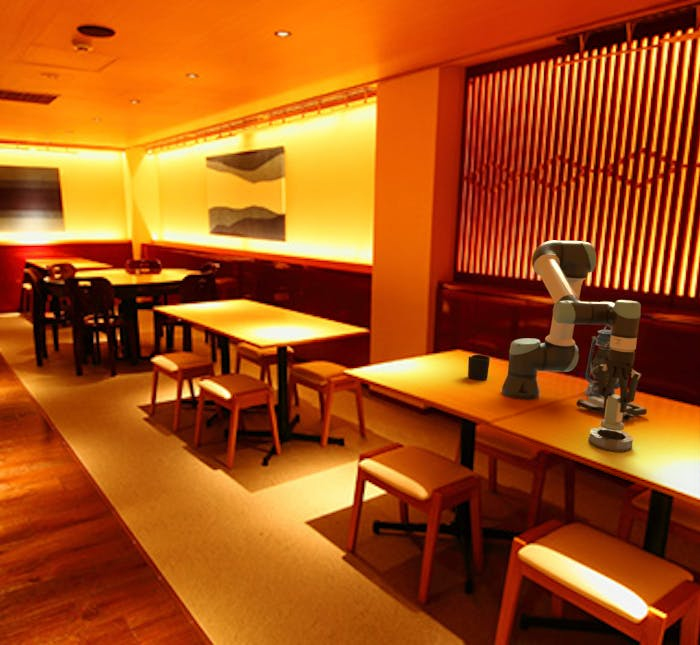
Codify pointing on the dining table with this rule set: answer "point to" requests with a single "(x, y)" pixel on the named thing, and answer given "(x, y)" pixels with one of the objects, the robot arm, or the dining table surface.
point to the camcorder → (598, 406)
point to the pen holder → (478, 367)
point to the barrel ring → (610, 440)
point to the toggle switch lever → (612, 414)
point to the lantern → (599, 362)
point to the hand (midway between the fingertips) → (613, 419)
